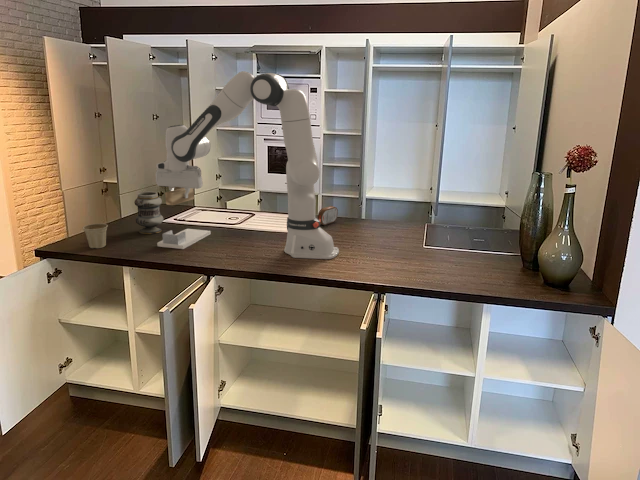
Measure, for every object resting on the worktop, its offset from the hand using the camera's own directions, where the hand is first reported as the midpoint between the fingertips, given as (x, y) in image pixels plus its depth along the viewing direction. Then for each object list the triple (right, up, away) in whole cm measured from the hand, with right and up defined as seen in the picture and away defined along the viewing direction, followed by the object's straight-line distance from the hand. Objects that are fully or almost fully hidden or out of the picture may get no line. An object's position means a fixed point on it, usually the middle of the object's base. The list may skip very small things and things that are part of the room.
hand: (180, 197), depth 204 cm
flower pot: (-33, -21, -4) cm, 39 cm away
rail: (0, -2, +1) cm, 2 cm away
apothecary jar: (-19, -14, +19) cm, 31 cm away
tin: (+63, -10, +40) cm, 75 cm away
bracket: (0, -18, +7) cm, 19 cm away
